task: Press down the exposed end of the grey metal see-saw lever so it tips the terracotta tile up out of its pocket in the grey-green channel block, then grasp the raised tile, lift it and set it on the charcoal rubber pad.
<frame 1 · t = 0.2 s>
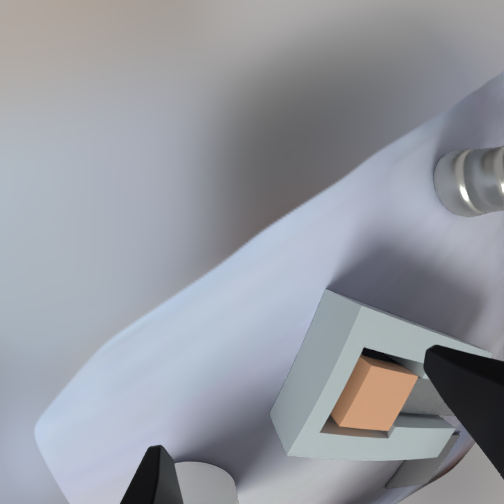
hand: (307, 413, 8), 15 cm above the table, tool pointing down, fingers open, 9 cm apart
plastic bottle: (446, 185, 26), on the table
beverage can: (194, 482, 24), on the table
lever: (425, 396, 23), point 4 cm above the table, hinge at 0.0°, touching tile
pad: (424, 460, 29), on the table
tile: (366, 387, 21), point 4 cm above the table, touching lever
grey-green channel block: (419, 384, 27), on the table
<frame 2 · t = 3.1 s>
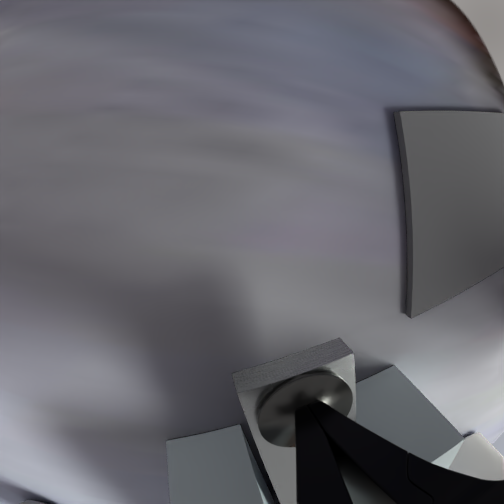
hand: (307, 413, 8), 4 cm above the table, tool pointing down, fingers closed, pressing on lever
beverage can: (450, 454, 23), on the table
pad: (469, 203, 12), on the table
grey-green channel block: (292, 437, 14), on the table
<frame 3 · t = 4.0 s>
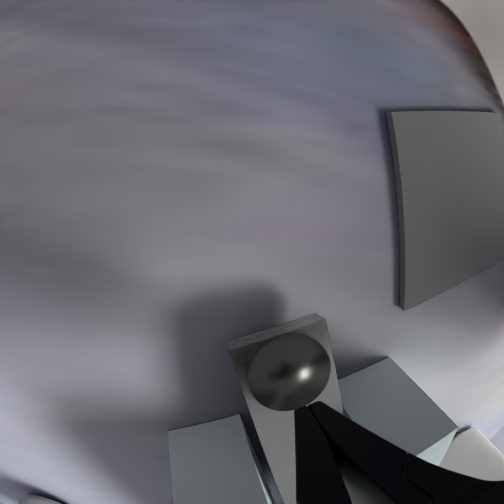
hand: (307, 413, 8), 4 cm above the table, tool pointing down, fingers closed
plastic bottle: (55, 503, 14), on the table
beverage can: (447, 449, 24), on the table
pad: (460, 199, 13), on the table
grey-green channel block: (290, 428, 15), on the table
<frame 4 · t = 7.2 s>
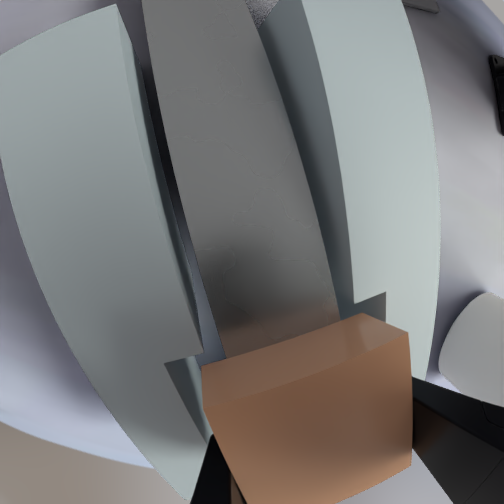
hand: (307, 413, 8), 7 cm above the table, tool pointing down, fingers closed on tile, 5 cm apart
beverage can: (464, 332, 21), on the table
lever: (235, 160, 8), point 4 cm above the table, hinge at 15.8°, touching tile
tile: (303, 408, 9), point 7 cm above the table, tilted 16°, touching gripper, lever
grey-green channel block: (205, 106, 12), on the table
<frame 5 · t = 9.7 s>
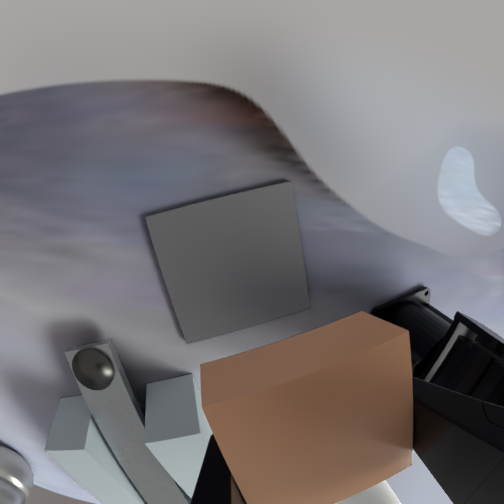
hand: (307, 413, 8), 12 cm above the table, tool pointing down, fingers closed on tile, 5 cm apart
plastic bottle: (13, 454, 21), on the table
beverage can: (333, 460, 31), on the table
lever: (144, 465, 18), point 4 cm above the table, hinge at 15.8°
pad: (234, 265, 20), on the table
tile: (303, 407, 9), point 12 cm above the table, tilted 16°, touching gripper
grey-green channel block: (133, 409, 21), on the table
when the fingers open (2 cm above the table, at t = 12.0 s): tile drops 1 cm, resting on pad.
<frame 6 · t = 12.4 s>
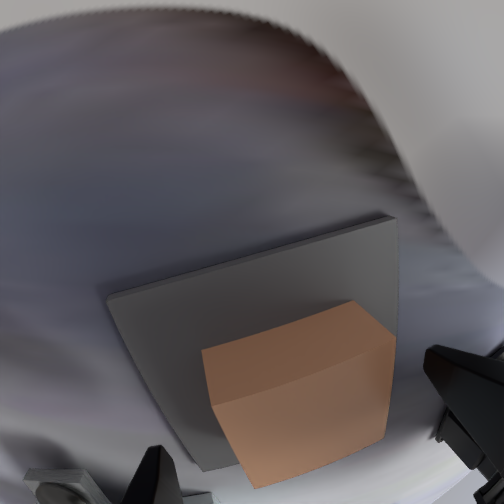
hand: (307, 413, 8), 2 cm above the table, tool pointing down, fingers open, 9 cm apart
pad: (284, 370, 10), on the table
tile: (292, 382, 10), resting on pad
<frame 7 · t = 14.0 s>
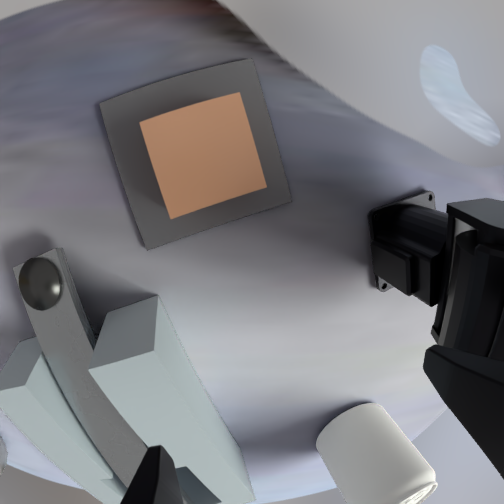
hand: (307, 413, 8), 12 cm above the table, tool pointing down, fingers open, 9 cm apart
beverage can: (347, 425, 28), on the table
lever: (104, 417, 15), point 4 cm above the table, hinge at 15.8°
pad: (196, 150, 17), on the table
tile: (200, 154, 16), resting on pad
grey-green channel block: (96, 351, 19), on the table
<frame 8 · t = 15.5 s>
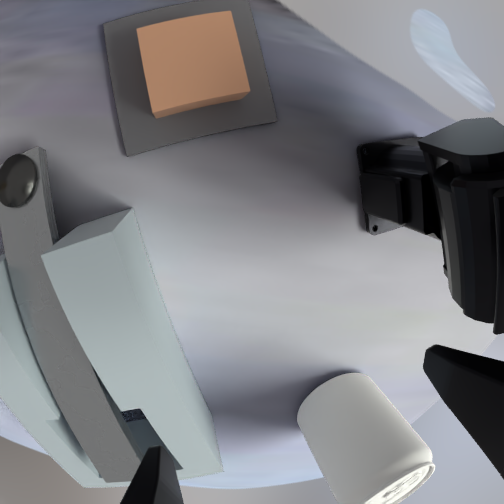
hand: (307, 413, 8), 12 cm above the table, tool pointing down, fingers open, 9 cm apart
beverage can: (333, 399, 26), on the table
lever: (56, 337, 14), point 4 cm above the table, hinge at 15.8°
pad: (187, 66, 15), on the table
tile: (190, 69, 15), resting on pad
grey-green channel block: (62, 271, 17), on the table
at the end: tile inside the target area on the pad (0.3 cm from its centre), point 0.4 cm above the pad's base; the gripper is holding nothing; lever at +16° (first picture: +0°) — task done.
